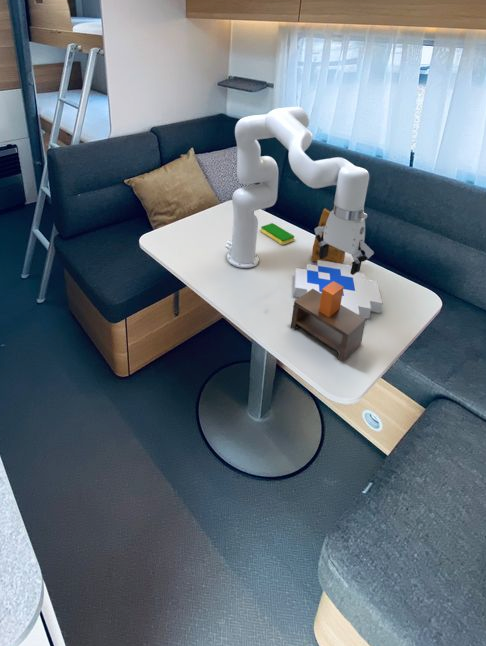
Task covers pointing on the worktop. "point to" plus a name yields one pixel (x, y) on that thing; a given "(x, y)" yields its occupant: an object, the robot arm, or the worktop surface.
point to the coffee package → (333, 253)
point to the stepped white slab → (356, 290)
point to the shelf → (329, 324)
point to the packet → (331, 298)
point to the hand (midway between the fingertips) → (338, 264)
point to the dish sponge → (277, 233)
